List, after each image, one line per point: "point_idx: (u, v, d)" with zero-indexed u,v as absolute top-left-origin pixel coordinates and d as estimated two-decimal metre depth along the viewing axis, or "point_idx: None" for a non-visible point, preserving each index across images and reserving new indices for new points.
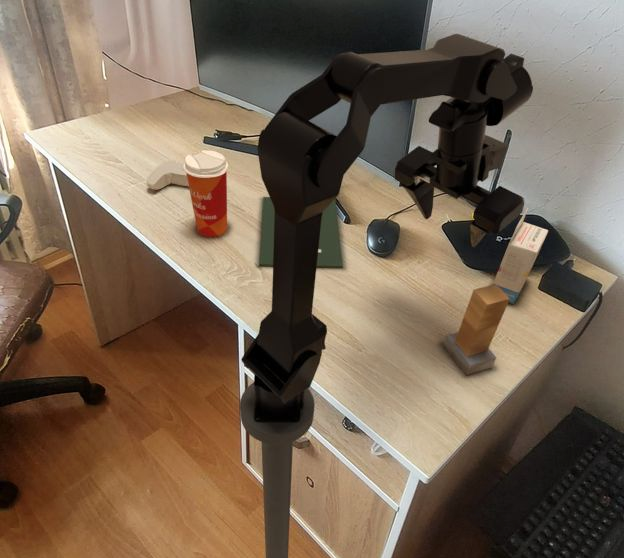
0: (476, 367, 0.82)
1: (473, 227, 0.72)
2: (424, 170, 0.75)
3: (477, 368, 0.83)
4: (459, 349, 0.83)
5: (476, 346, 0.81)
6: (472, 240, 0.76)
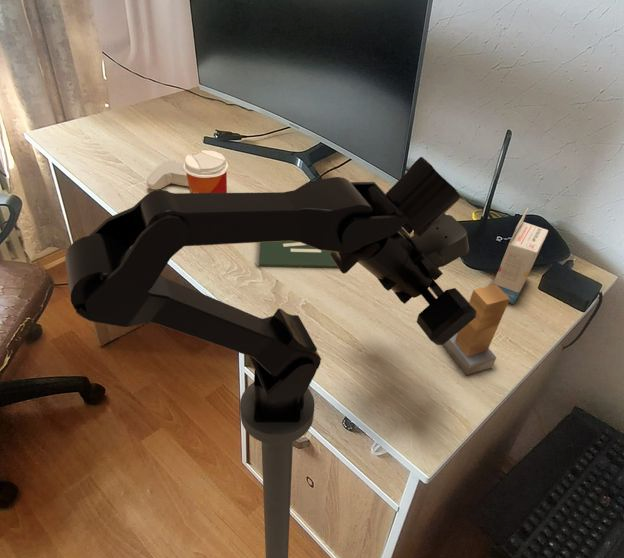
0: (476, 367, 0.82)
1: None
2: None
3: (477, 368, 0.83)
4: (459, 349, 0.83)
5: (476, 346, 0.81)
6: None
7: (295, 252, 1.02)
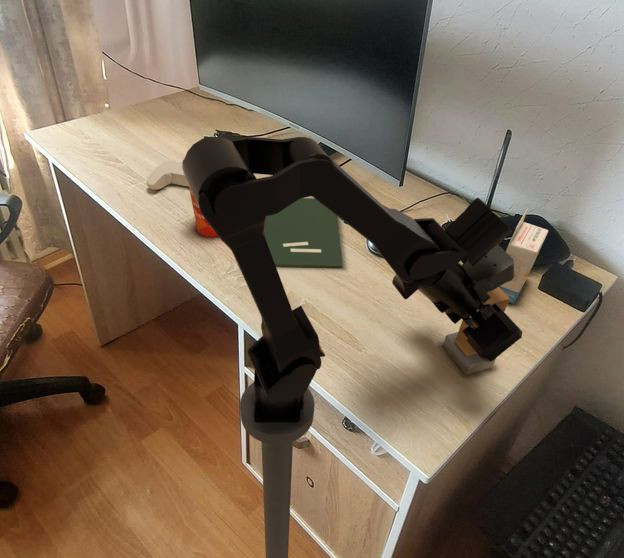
0: (476, 367, 0.82)
1: None
2: None
3: (477, 368, 0.83)
4: (459, 349, 0.83)
5: None
6: None
7: (295, 252, 1.02)
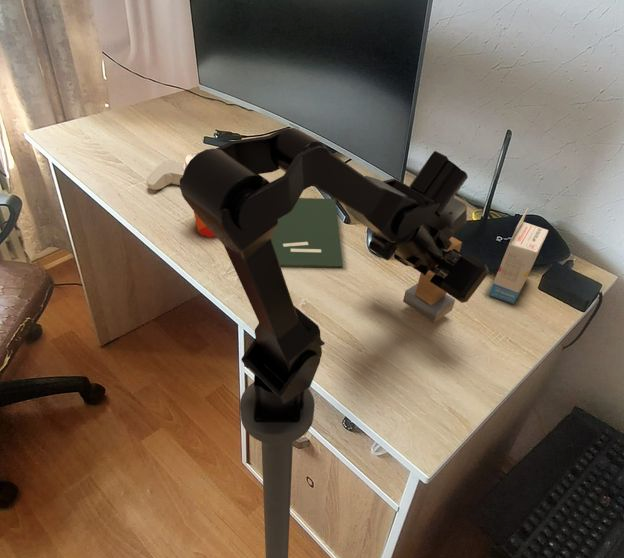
0: (441, 312, 0.88)
1: None
2: None
3: (441, 314, 0.88)
4: (422, 300, 0.88)
5: (437, 293, 0.87)
6: None
7: (295, 252, 1.02)
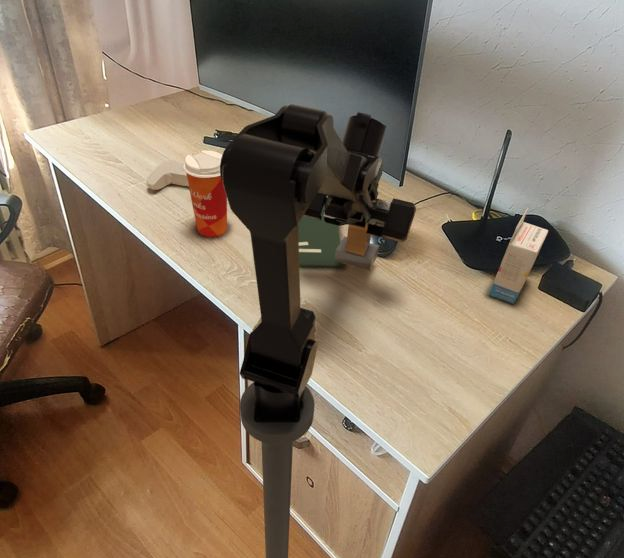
0: (373, 259, 0.97)
1: (369, 233, 0.88)
2: None
3: (373, 261, 0.97)
4: (354, 254, 0.96)
5: (366, 243, 0.95)
6: None
7: None
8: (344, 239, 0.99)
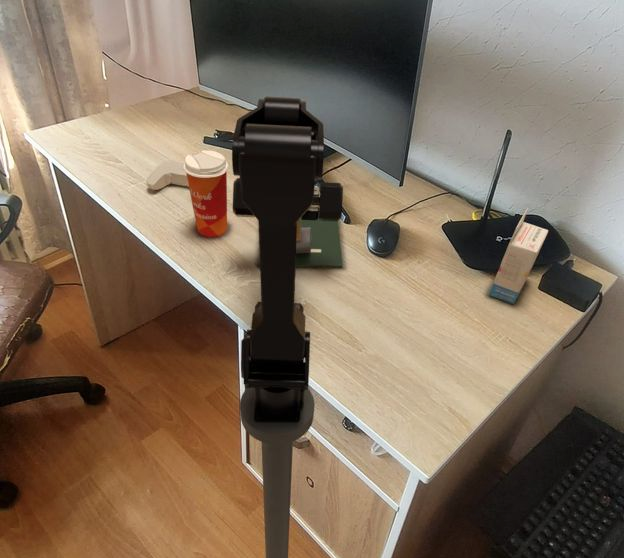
0: (310, 241, 1.00)
1: (304, 219, 0.92)
2: None
3: (310, 242, 1.01)
4: None
5: (299, 228, 0.98)
6: None
7: None
8: None
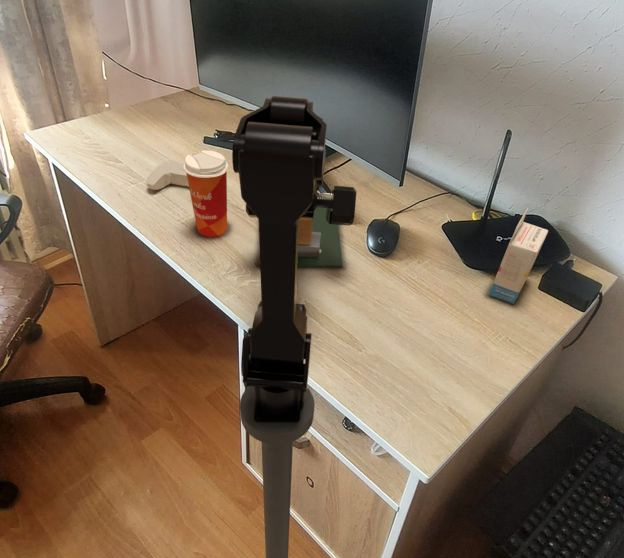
0: None
1: (331, 223, 0.92)
2: None
3: None
4: (301, 245, 0.99)
5: (311, 233, 0.99)
6: (327, 220, 0.96)
7: None
8: None
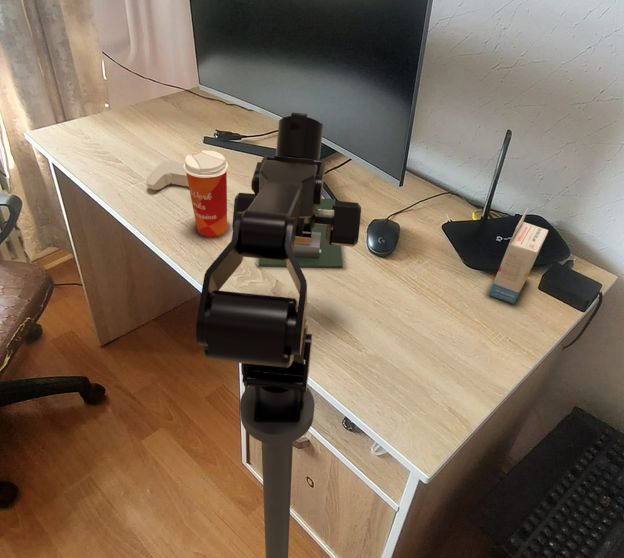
0: None
1: (332, 244, 0.80)
2: None
3: None
4: (301, 245, 0.99)
5: None
6: None
7: None
8: None
